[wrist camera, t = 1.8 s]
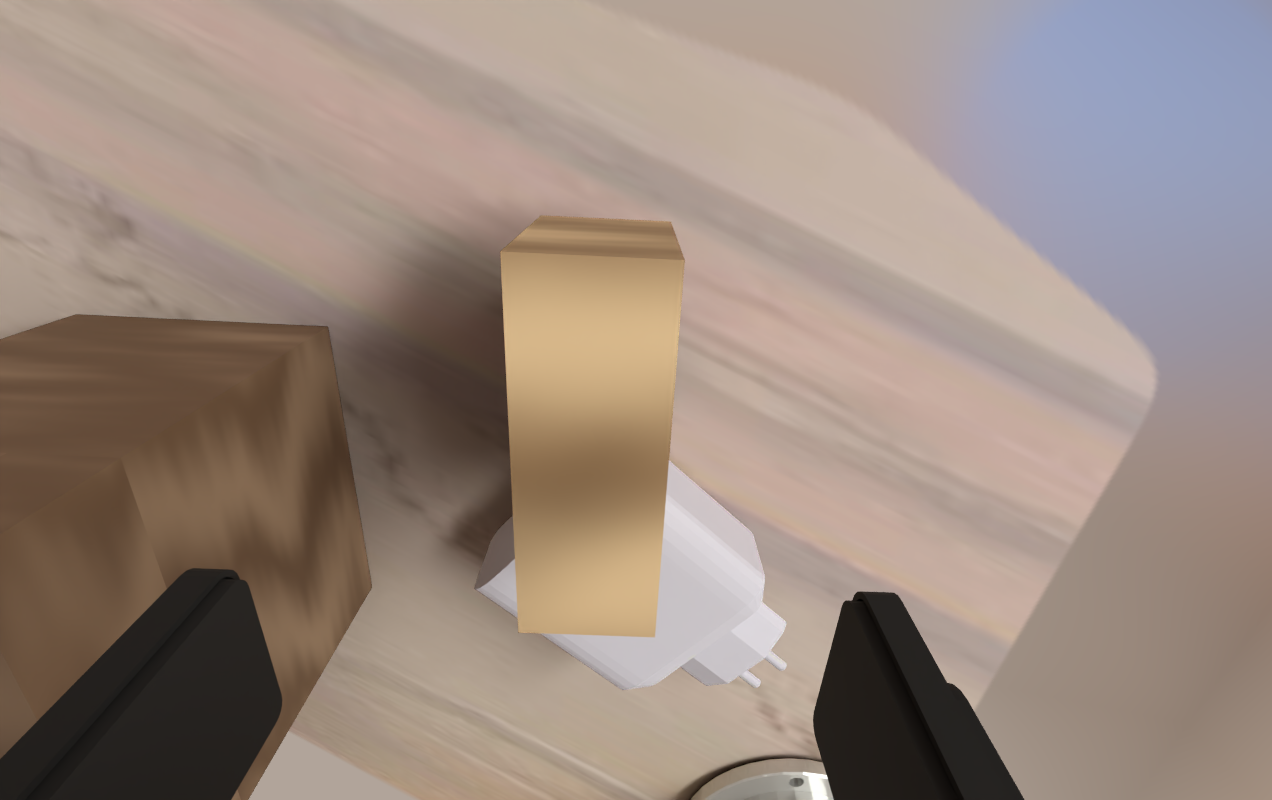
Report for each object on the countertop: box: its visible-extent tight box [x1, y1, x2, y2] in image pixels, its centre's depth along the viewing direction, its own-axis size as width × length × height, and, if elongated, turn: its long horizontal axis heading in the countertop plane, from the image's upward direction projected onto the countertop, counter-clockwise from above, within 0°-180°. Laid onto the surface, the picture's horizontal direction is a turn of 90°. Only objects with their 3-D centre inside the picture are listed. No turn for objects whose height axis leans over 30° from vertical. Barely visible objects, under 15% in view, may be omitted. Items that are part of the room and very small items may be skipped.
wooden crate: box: [0, 315, 372, 800], centre depth 21 cm, size 14×10×15 cm
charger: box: [474, 461, 787, 690], centre depth 28 cm, size 5×9×15 cm
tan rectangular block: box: [500, 216, 685, 637], centre depth 20 cm, size 11×4×11 cm, turn 177°
